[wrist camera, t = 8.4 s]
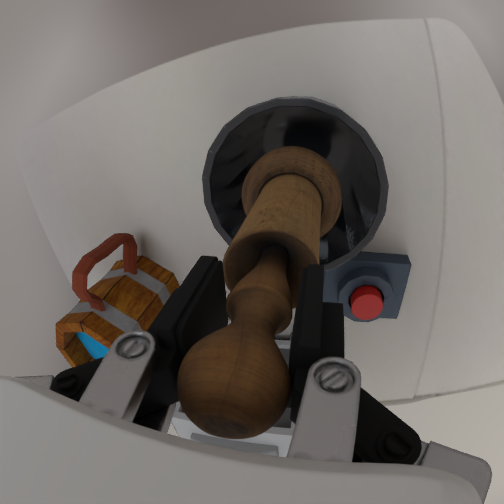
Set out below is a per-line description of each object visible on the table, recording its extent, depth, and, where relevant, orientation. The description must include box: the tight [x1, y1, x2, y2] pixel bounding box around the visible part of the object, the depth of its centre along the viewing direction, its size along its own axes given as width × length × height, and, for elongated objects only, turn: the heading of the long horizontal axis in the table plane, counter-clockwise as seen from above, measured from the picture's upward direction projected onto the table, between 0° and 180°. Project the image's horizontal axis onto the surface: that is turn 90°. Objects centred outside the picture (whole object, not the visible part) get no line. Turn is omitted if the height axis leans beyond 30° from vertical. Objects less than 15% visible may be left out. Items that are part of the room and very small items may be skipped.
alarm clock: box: [171, 333, 295, 457], centre depth 40 cm, size 18×13×18 cm
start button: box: [351, 285, 383, 320], centre depth 33 cm, size 4×4×2 cm
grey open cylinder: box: [202, 96, 389, 271], centre depth 27 cm, size 13×13×12 cm
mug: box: [56, 233, 180, 368], centre depth 38 cm, size 20×14×15 cm
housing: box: [323, 252, 411, 322], centre depth 35 cm, size 10×8×4 cm
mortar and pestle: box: [177, 146, 342, 439], centre depth 14 cm, size 7×6×18 cm
